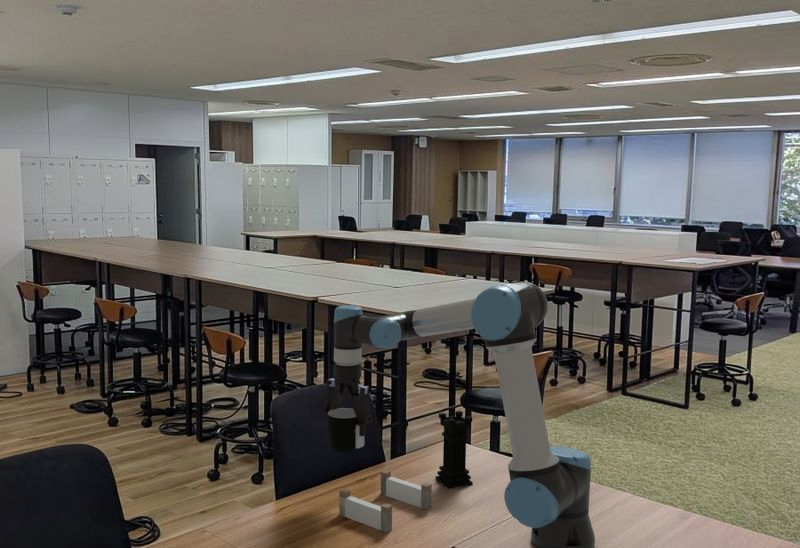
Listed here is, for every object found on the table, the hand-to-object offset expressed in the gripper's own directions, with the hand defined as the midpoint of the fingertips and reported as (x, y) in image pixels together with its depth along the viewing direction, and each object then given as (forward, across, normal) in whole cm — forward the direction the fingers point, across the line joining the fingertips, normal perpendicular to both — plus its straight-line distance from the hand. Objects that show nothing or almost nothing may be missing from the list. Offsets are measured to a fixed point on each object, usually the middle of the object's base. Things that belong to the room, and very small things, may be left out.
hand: (346, 442), depth 197 cm
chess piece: (+16, -17, -28) cm, 36 cm away
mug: (+2, +1, 0) cm, 2 cm away
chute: (+15, -14, 0) cm, 21 cm away
